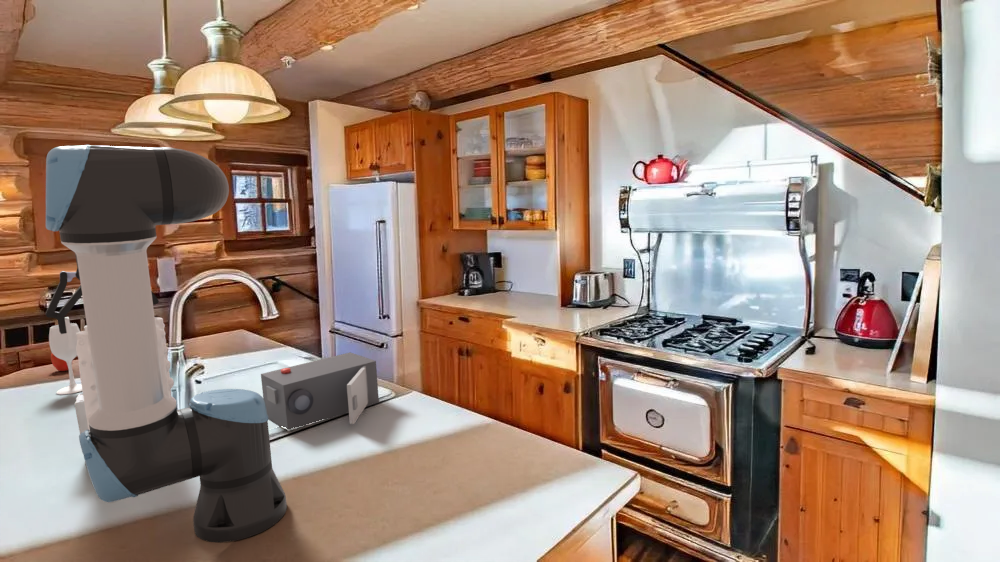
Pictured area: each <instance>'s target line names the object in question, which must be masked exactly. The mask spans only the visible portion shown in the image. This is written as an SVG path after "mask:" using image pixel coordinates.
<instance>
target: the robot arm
mask: <svg viewBox="0 0 1000 562" xmlns="http://www.w3.org/2000/svg"><path fill="white" fill-rule="evenodd" d="M45 161H46V162H45V229H46V230H48V231H52V232H53V233H54V232H59V238H60V243H61V244H62V245H63V246H64V247H66V248H67V249H69V250H70V251H72V252H73V253H74V255H75V261H76V271H64V270H62V271H60V272H59V283H58V285H57V287H56V289H55V291H54V294H53V296H52V298H51V301H50V302H49V305H48V306H47V309H46V311H45V316H46V317H47V318H51V319H56V320H57V323H58V324H57V325H59V331H60V333H61V334H65V333H67V338H68V344H69V349H74V346H73V340H72V334H71V327H70V323H71V321H70V317H69V316H67V315H68V313H69V312H70V311H71V310H72V308H73V307H74V306H75V305H76V304H77V302H78V301H79V300H80V299H81V297H82V301H83V309H84V315H85V321H86V325H87V329H88V336H89V343H90V349H91V356H92V363H93V370H94V376H95V383H96V390H97V396H98V403H99V408H98V409H97V410H96V411H95V412H94V413H93V414H92V416H91V417H90V418H89V427H90V430H85V431H84V432H82V433H81V434H80V433H79V435H78V440H79V446H80V449H81V453H82V454H83V459H84V463H85V466H86V469H87V473H88V475H89V478H90V481H91V484H92V486H93V488H94V491H95V494H96V496H97V497H98V498H99V499H100V500H101V501H102V502H105V503H114V502H117V501H121V500H124V499H125V500H126V499H128V498H136V497H137V498H138V497H139V496H140V495H143V494H146V493H150V492H153V491H155V490H159V489H162V488H166V487H169V486H172V485H174V484H178V483H183V482H185V481H189V480H192V479H194V478H195V479H196V478H198V477H199V482H200V483H199V485H200V488H199V492H198V495H197V499H196V504H195V509H194V513H193V518H192V520H193V521H192V522H193V529H194V531H193V532H194V533H195V536H197V538H199V539H200V540H202V541H206V542H211V543H228V542H229V543H230V542H234V541H240V540H244V539H247V538H250V537H253V536H255V535H258V534H260V533H262V532H264V531H266V530H268V529H270V528H271V527H273V526H275V525H276V524H277V523H278V522H279V521H280V520H282V518H283V517H284V515H285V514H286V513H287V509H288V508H287V506H288V505H287V496H286V492H285V491H284V488H283V487H282V484H281V482H280V481H279V479H278V477H277V475H276V472H275V471H274V469H273V464H272V463H273V462H272V460H273V459H272V451H271V442H270V441H271V440H270V433H269V431H270V430H269V422H268V421H269V420H268V415H267V411H266V406H265V401H264V399H263V395H261V394H259V393H258V392H256V391H254V390H249V389H242V388H221V389H214V390H213V389H211V390H207V391H202V392H201V393H197V394H195V395H193V396H192V397H191V398H190V400H189V403H188V405H189V407H185V408H180V409H178V408H177V401H176V402H175V401H174V400H173V399H171V398H169V397H167V396H165V395H164V391H163V383H162V375H161V366H160V358H159V350H158V342H157V334H156V326H155V317H156V316H155V308H154V305H156V304H159V301H160V300H159V298H157V296H156V295H155V293H154V292H153V291H152V287H151V286H152V284H151V278H150V269H149V261H148V253H147V250H148V247H150V245H152V244H153V242H154V241H156V239H157V237H158V236H157V230H156V228H157V226H163V225H177V224H178V225H179V224H185V223H190V222H195V221H198V220H202V219H204V218H207V217H211V216H212V215H214V214H216V213H217V212H218V211H220V210H222V208H223V207H224V206H225V204H226V202H227V200H228V198H229V193H230V187H229V182H228V178H227V176H226V175H225V173H224V171H223V170H222V169H221V168H220V167H219V166H218V165H217V164H216V163H214V162H213V161H212V160H210V159H209V158H207V157H205V156H203V155H201V154H198V153H196V152H193V151H190V150H186V149H181V148H175V147H168V146H167V147H165V146H163V147H150V146H149V147H147V146H145V147H144V146H143V147H142V146H117V145H116V146H114V145H113V146H112V145H111V146H110V145H90V144H84V145H83V144H82V145H64V146H63V145H62V146H56V147H54V148H52V149H51V150H49V151H48V153H47V155H46V159H45ZM73 278H76V279H77V280H79V282H80V285H79V286H78V288H77V289H76V291H74V293H73V294H72V295H71V296H70V298H69V299H68V300H67V301H66V302H65V304H64V305H63V306H62V307H61V308H60V310H59V311H56V310H57V307H58V305H59V303H60V301H61V299H62V296H63V294H64V292H65V290H66V287H67V285H68V283H70V282H72V281H73Z"/></svg>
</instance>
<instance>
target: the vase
mask: <svg viewBox="0 0 1000 562" xmlns="http://www.w3.org/2000/svg"><path fill="white" fill-rule="evenodd" d="M154 317H155V326H156V334H157V342H158V350H159V358H160V366H161V375H162V383H163V391H164V395H165V396H167V397H169V398H171V399H173V400H174V401H175V402H176V403H177V400H176V398H175V397H173V396H172V389H173V387H174V386H175V385H174V383H175V380H174V379H173V377H171V375H170V369H171V362H170V361H169V358H168V352H169V348H168V347H167V339H166V334H167V333H166V331H165V327H166V325H165V323H164V318H162V317H159V316H154ZM83 329H84V330H80V332H77V333H76V335H77V339H78V341H77V346H76V352H77V355H78V356H77V359H78V370H79V371H78V372H79V377H80V384H81V385H82V391H81V392H82V394H83V398H84V404H85V411H86V418H87V424H88V430H90V427H89V418H90V417H91V416H92V414H93V413H94V412H95V411H96V410H97V409H98V408H99V403H98V396H97V390H96V383H95V376H94V370H93V363H92V356H91V349H90V343H89V336H88V329H87V324H86V325H84V327H83Z"/></svg>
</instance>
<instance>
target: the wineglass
mask: <svg viewBox="0 0 1000 562" xmlns="http://www.w3.org/2000/svg"><path fill="white" fill-rule="evenodd" d="M70 327H71V334H72V340H73V346H74V349H69V344H68V338H67V333H65V334H61V333H60V331H59V325H58V324H57V325H52V326H51V327H49V334H48V343H49V348H50V349H49V350H50V351H51V354H52V353H53V355H54V356H56V357H57V358H59V359H62V360H64V361H66V362H67V365H68V369H69V370H68V375H69V385H68V386H65V387H62V388H60V389H59V390H57V391H56V394H57V395H60V396H61V395H72V394H76V393H80V392H83V391H82V385H81V383H79V384H78V383H76V380H75V377H74V372H73V361H72V360H74V359H75V358H76V357H78V355H77V352H76V346H77V341H78V339H77V335H76V333H77V332H80V331H81V329H80V328H79V325H78V324H77V323H76V322H75V323H74V322H73V323H72V322H70Z"/></svg>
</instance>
